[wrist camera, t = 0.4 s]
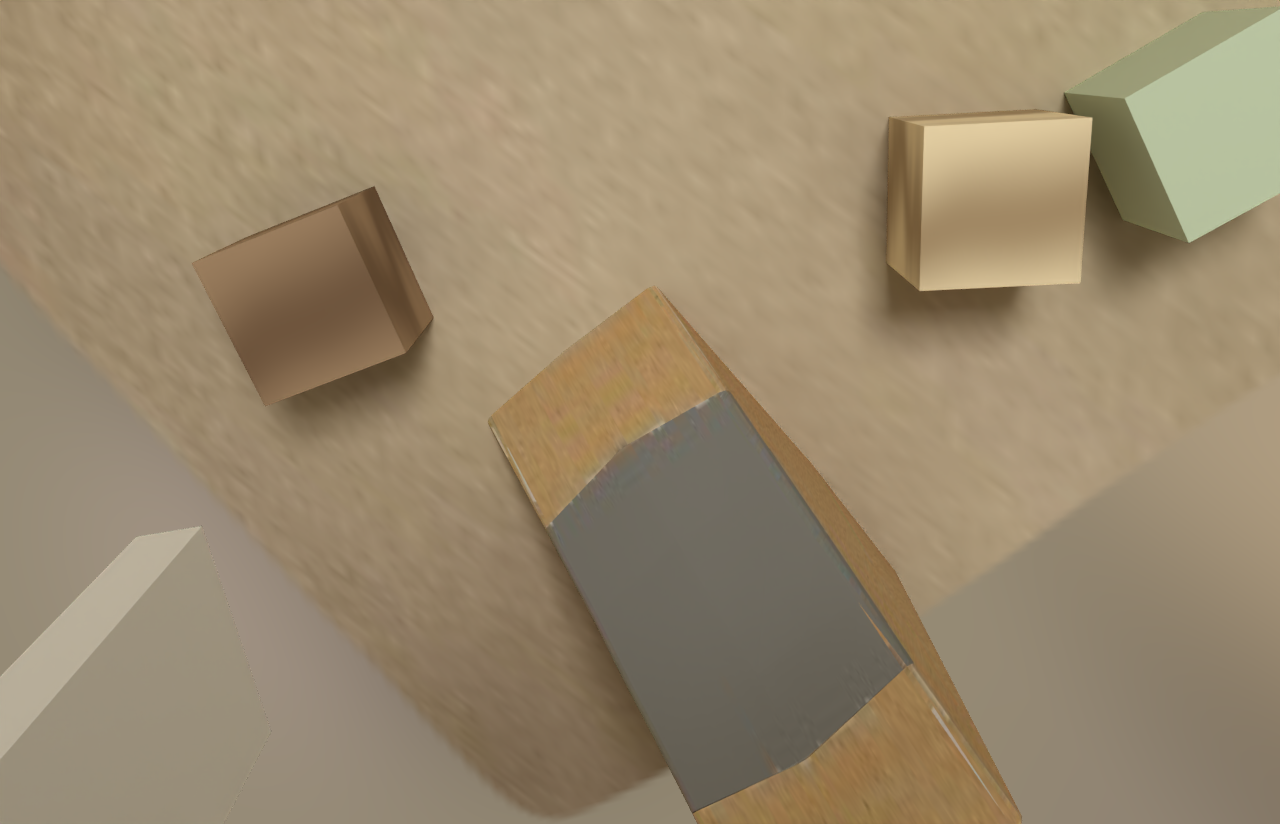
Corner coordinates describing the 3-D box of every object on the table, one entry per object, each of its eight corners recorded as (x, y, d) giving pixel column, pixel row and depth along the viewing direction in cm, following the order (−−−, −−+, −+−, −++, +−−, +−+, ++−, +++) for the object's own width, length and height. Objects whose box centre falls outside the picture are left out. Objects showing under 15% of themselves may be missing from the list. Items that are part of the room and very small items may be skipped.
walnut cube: (246, 237, 39) (191, 263, 34) (374, 186, 38) (337, 205, 34) (309, 364, 40) (265, 406, 36) (433, 316, 40) (406, 353, 35)
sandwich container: (656, 272, 39) (665, 397, 25) (904, 571, 43) (1036, 828, 29) (478, 418, 41) (392, 612, 27) (731, 693, 45) (775, 993, 31)
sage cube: (1063, 92, 37) (1124, 98, 33) (1201, 12, 37) (1285, 6, 32) (1121, 219, 39) (1188, 243, 34) (1256, 144, 38) (1344, 157, 33)
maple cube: (888, 117, 38) (924, 126, 33) (1035, 109, 38) (1092, 117, 33) (885, 261, 39) (919, 290, 34) (1026, 254, 39) (1080, 283, 34)
